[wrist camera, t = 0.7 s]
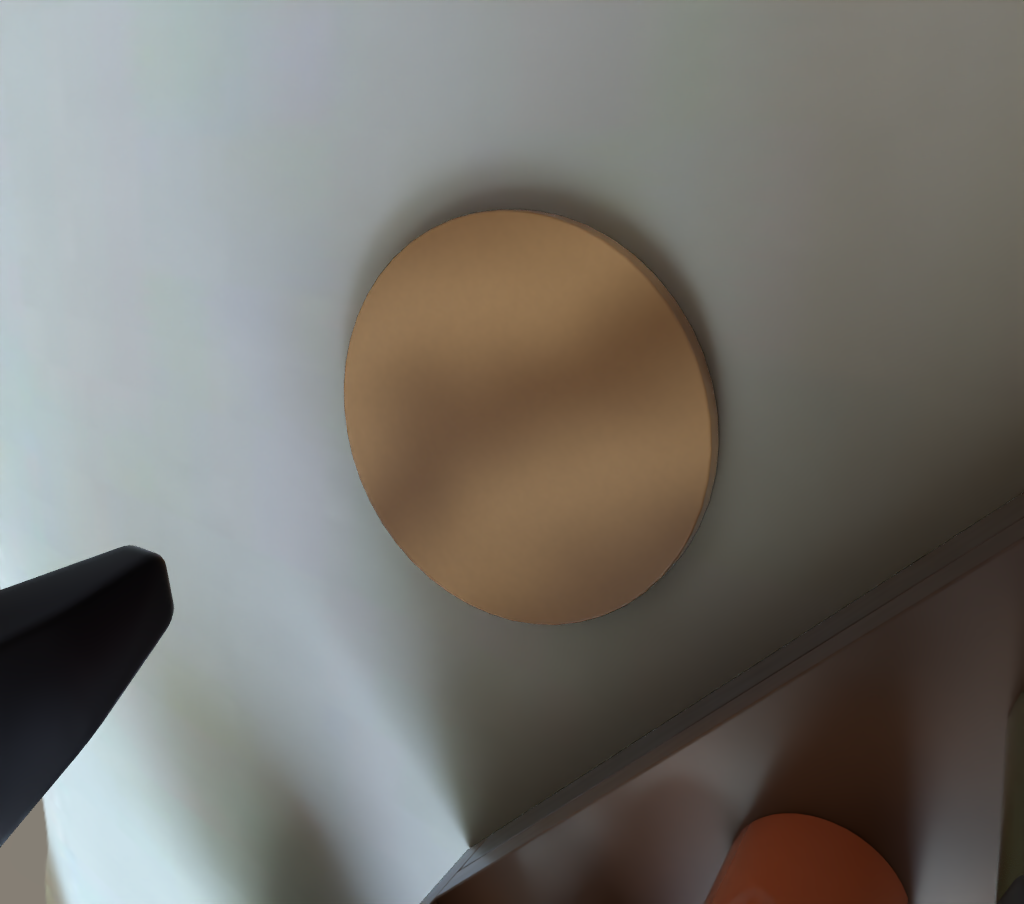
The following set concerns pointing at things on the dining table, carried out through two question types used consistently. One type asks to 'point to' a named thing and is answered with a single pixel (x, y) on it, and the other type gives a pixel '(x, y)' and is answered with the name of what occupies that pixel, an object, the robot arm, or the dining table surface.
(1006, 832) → the cylinder
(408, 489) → the cork trivet
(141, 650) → the robot arm
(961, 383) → the dining table surface
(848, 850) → the terracotta shaker
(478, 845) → the spice shelf
